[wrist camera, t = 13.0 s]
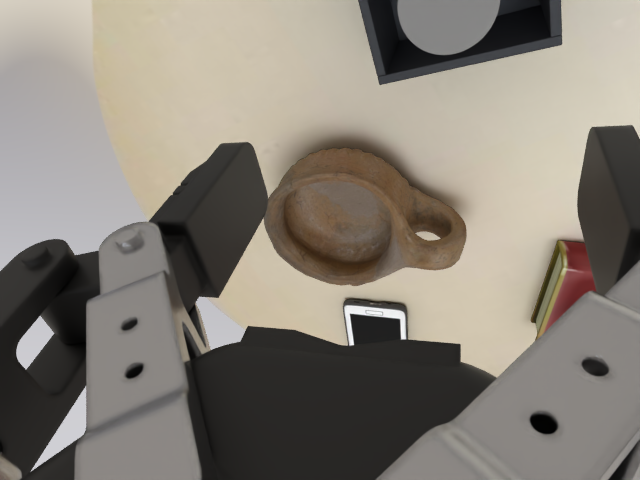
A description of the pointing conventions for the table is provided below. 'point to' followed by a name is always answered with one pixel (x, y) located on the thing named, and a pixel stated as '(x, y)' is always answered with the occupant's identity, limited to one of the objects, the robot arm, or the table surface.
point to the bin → (500, 41)
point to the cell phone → (374, 322)
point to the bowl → (358, 220)
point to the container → (446, 23)
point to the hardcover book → (563, 284)
